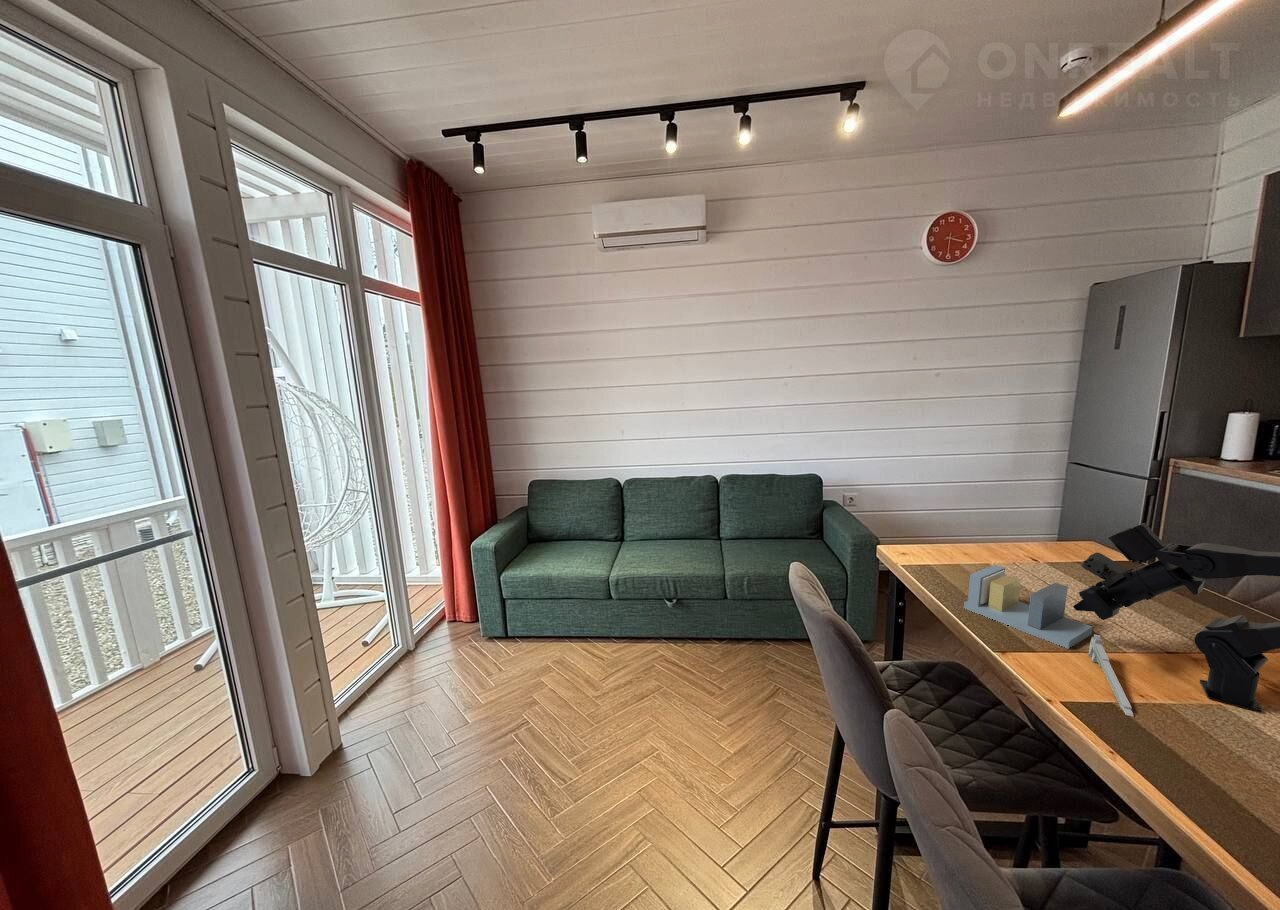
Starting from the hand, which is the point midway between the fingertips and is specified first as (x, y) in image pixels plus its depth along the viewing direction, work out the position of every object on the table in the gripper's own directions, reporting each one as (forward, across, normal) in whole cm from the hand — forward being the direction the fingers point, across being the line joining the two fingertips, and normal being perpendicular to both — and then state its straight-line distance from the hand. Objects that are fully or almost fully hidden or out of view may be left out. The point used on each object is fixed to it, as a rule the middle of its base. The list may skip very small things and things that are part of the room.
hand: (1075, 608), depth 109 cm
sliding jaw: (+8, 0, 0) cm, 8 cm away
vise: (+12, 0, -1) cm, 12 cm away
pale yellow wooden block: (+14, 0, -6) cm, 15 cm away
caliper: (-2, +14, +14) cm, 19 cm away
